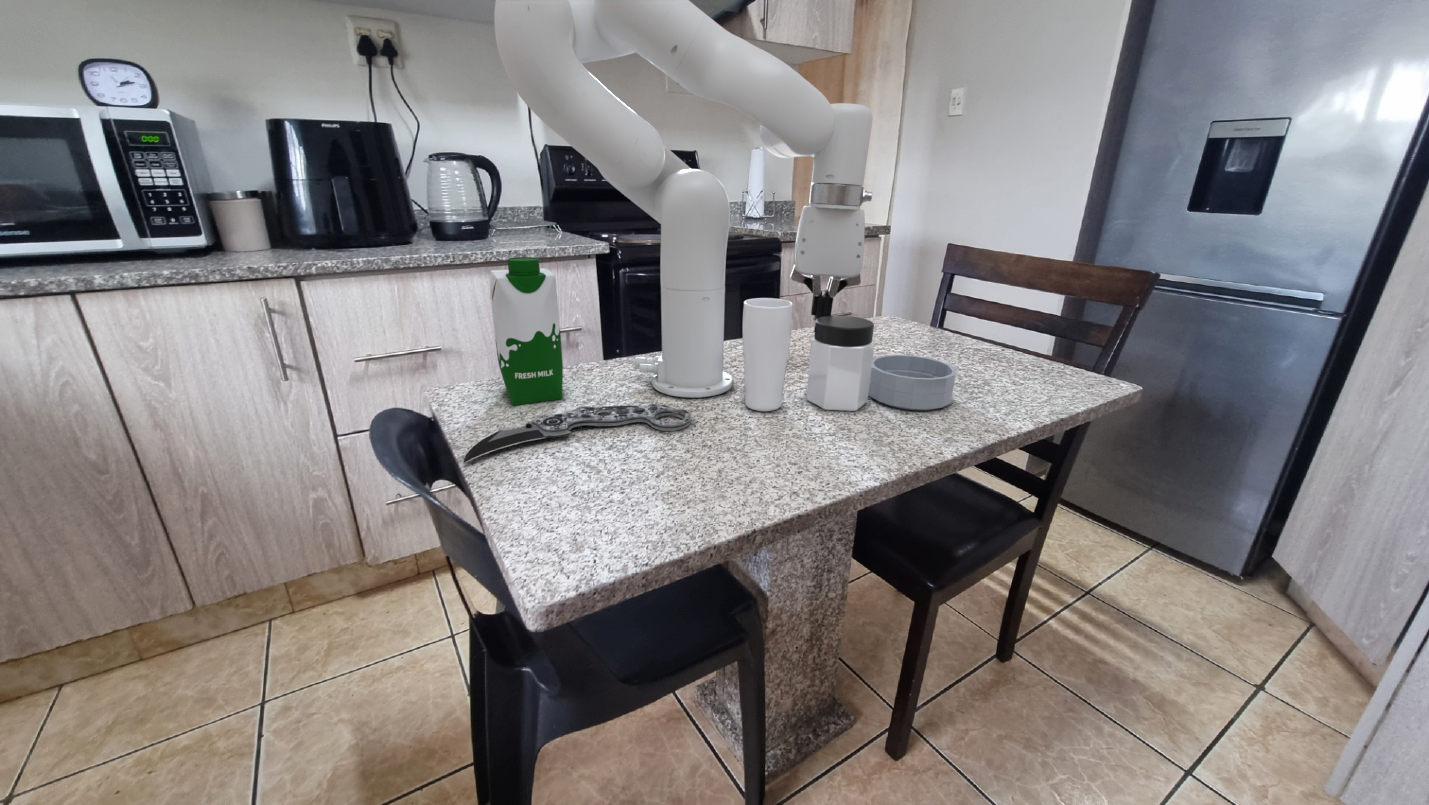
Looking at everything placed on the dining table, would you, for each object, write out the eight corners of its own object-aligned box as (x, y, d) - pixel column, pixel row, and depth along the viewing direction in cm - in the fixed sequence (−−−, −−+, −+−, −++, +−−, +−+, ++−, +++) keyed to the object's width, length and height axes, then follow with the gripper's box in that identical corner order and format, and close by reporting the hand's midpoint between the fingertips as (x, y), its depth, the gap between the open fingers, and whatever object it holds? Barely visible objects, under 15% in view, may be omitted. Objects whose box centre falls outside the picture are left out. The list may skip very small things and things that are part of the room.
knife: (462, 458, 63) (458, 420, 72) (464, 470, 64) (459, 432, 72) (701, 423, 75) (673, 394, 83) (700, 434, 75) (673, 404, 83)
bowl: (874, 410, 83) (879, 377, 81) (860, 383, 94) (863, 353, 92) (962, 414, 82) (968, 380, 80) (936, 386, 93) (941, 356, 92)
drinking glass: (773, 418, 79) (779, 309, 74) (730, 408, 83) (734, 303, 77) (794, 403, 85) (801, 301, 79) (753, 394, 88) (757, 295, 83)
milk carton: (506, 409, 81) (490, 262, 74) (499, 388, 88) (483, 254, 81) (570, 400, 84) (559, 259, 77) (557, 381, 92) (547, 252, 85)
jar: (823, 387, 92) (830, 312, 87) (873, 398, 87) (883, 320, 83) (798, 404, 85) (804, 323, 80) (851, 416, 80) (860, 331, 76)
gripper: (881, 200, 89) (863, 319, 95) (783, 194, 89) (772, 312, 96) (892, 201, 82) (872, 329, 88) (786, 195, 82) (773, 322, 89)
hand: (820, 320), depth 92 cm, fingers closed
